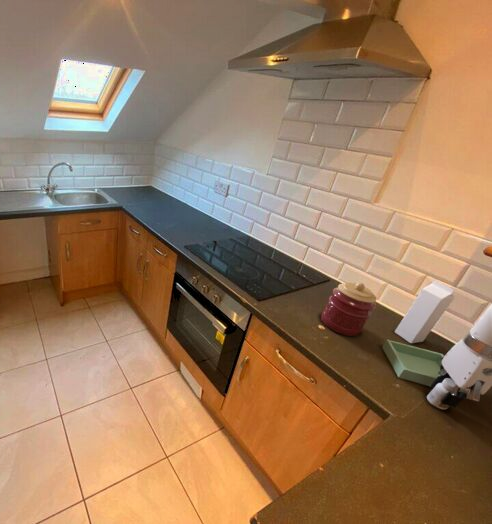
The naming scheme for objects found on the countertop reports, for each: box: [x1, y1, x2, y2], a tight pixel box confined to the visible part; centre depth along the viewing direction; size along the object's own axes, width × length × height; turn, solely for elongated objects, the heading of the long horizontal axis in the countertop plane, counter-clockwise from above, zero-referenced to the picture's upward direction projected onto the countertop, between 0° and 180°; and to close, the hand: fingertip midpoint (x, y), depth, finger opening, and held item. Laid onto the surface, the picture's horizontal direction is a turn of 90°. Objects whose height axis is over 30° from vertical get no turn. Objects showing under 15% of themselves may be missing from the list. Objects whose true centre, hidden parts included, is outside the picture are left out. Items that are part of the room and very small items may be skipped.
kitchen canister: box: [320, 282, 377, 337], centre depth 104 cm, size 13×13×18 cm
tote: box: [381, 339, 465, 392], centre depth 91 cm, size 16×14×3 cm
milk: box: [394, 279, 455, 344], centre depth 101 cm, size 6×6×22 cm
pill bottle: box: [426, 378, 461, 410], centre depth 79 cm, size 4×4×8 cm
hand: (442, 396), depth 80 cm, fingers closed on pill bottle, 4 cm apart
